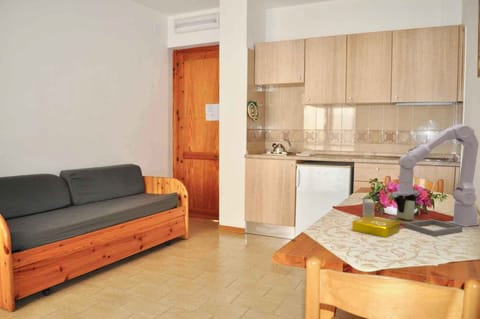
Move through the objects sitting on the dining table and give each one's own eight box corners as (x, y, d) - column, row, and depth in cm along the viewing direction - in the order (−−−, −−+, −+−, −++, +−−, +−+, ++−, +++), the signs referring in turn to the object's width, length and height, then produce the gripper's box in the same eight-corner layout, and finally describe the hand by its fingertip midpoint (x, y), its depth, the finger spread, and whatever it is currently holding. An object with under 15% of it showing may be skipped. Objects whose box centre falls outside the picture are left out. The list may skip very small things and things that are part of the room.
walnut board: (404, 216, 184) (404, 214, 184) (426, 222, 173) (426, 220, 173) (382, 219, 178) (382, 217, 178) (403, 226, 167) (403, 223, 167)
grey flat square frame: (432, 223, 172) (432, 219, 172) (462, 231, 160) (462, 226, 159) (404, 227, 165) (405, 223, 165) (433, 236, 152) (433, 231, 152)
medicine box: (374, 221, 175) (374, 202, 175) (363, 220, 176) (364, 202, 175) (371, 217, 183) (372, 199, 182) (362, 216, 184) (362, 198, 183)
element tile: (401, 231, 161) (401, 220, 160) (386, 239, 150) (386, 227, 149) (366, 224, 171) (367, 214, 171) (350, 231, 160) (350, 220, 160)
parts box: (402, 215, 179) (403, 198, 178) (413, 219, 173) (414, 201, 173) (396, 216, 177) (397, 199, 176) (407, 219, 172) (408, 202, 171)
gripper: (410, 179, 181) (408, 208, 182) (387, 181, 175) (385, 211, 176) (423, 182, 174) (421, 211, 176) (399, 183, 168) (398, 214, 170)
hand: (404, 211), depth 175 cm, fingers closed on parts box, 4 cm apart
